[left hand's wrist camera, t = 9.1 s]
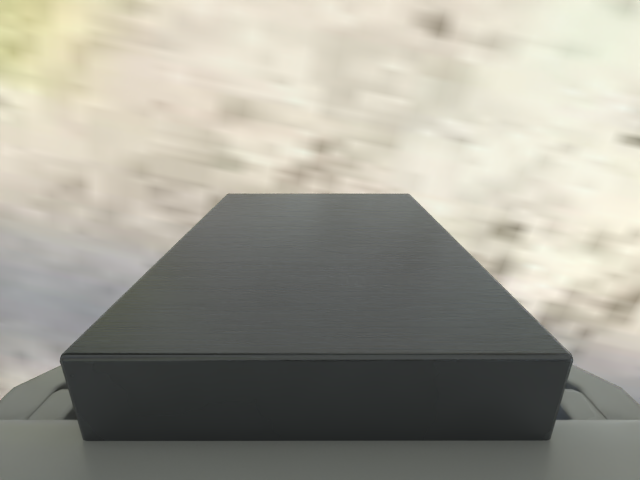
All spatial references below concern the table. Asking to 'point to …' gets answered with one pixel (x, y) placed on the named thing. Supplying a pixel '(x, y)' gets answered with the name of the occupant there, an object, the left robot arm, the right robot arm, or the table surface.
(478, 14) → the table surface
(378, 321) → the box
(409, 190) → the table surface
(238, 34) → the table surface
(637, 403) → the left robot arm
